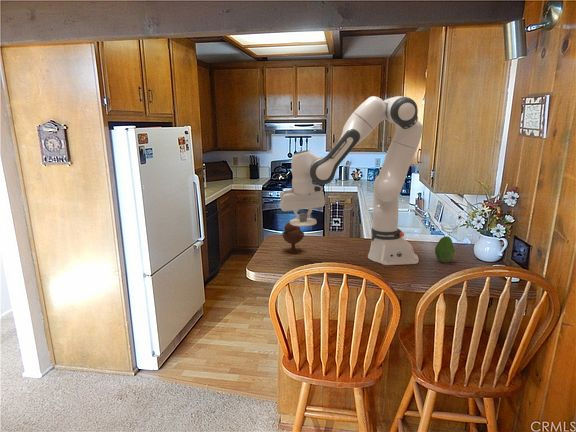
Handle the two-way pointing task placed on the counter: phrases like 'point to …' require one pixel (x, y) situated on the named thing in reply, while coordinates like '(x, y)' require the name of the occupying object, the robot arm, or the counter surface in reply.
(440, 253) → the avocado
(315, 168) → the robot arm
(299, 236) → the ice cream bowl
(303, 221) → the lid
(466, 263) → the counter surface
